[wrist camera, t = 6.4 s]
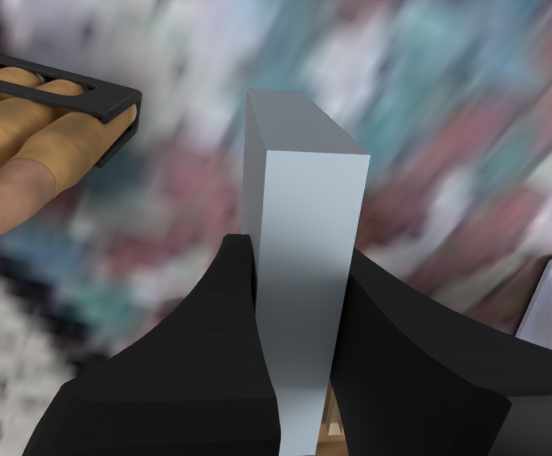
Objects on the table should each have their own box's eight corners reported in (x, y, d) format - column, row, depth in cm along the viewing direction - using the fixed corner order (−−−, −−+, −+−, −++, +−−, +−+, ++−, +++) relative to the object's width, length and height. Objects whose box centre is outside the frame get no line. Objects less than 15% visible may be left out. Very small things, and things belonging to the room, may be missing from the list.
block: (302, 92, 13) (370, 154, 7) (281, 294, 17) (314, 455, 11) (247, 88, 13) (267, 150, 7) (237, 294, 17) (245, 458, 10)
